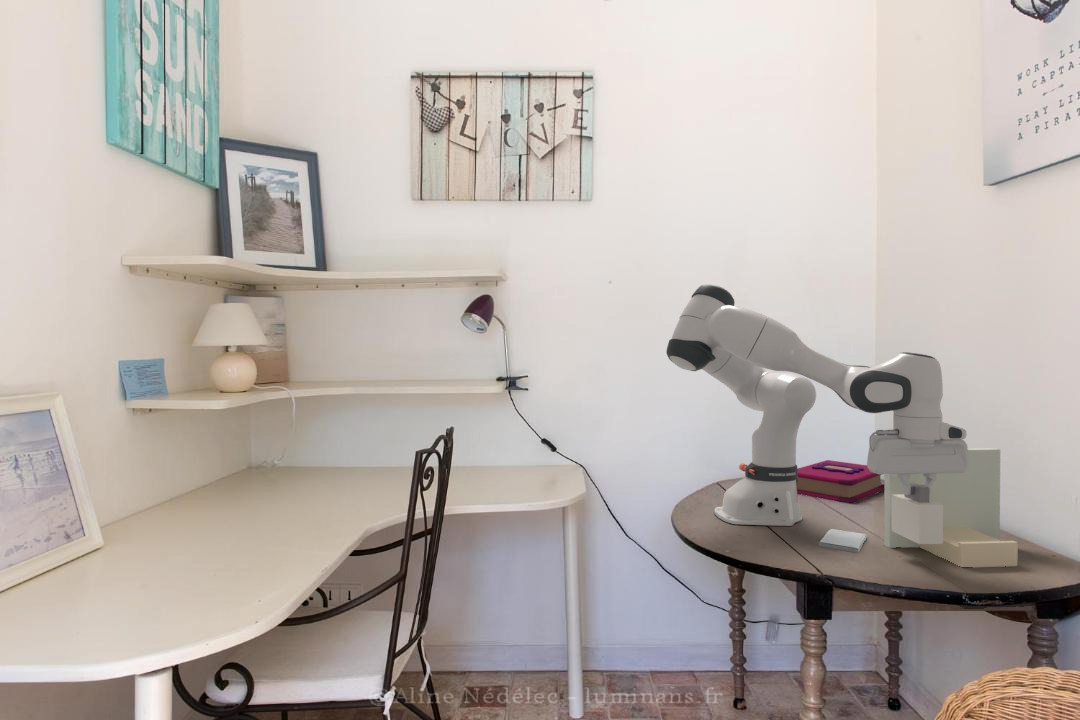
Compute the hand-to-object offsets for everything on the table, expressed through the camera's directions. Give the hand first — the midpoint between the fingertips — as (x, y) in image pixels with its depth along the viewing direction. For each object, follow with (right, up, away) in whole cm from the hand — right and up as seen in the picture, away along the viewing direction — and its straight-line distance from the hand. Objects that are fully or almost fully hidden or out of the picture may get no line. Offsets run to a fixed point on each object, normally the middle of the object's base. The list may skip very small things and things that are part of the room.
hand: (916, 494), depth 130 cm
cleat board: (+13, -14, +4) cm, 20 cm away
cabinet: (0, -9, 0) cm, 9 cm away
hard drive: (-9, -15, +14) cm, 22 cm away
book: (+14, -13, +64) cm, 67 cm away
